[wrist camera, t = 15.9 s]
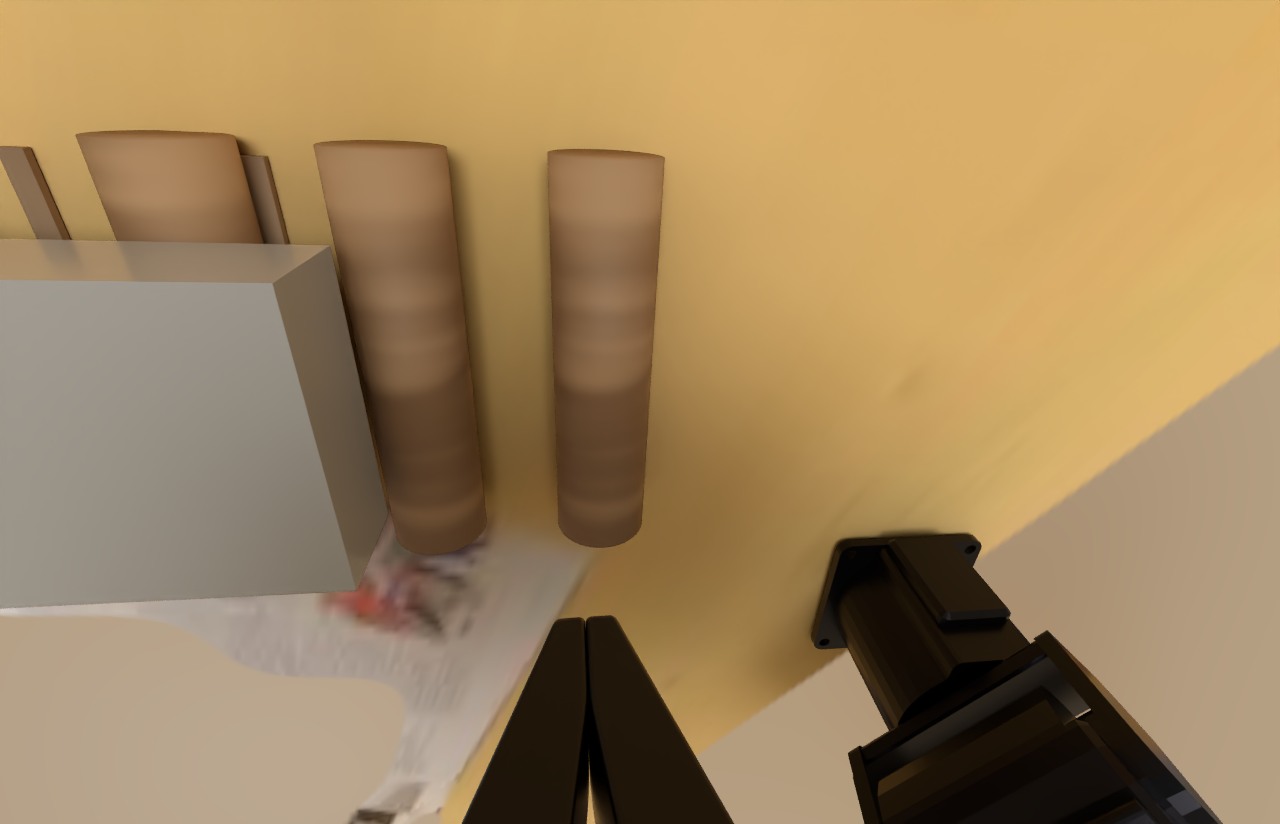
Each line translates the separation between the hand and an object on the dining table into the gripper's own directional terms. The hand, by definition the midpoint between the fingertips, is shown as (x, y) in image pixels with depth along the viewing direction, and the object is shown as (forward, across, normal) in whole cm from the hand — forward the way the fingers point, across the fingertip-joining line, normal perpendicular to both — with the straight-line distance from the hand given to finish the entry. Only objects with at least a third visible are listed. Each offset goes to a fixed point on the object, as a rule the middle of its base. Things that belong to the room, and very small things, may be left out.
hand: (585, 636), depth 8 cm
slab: (+9, +11, 0) cm, 14 cm away
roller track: (+12, +6, +1) cm, 13 cm away
